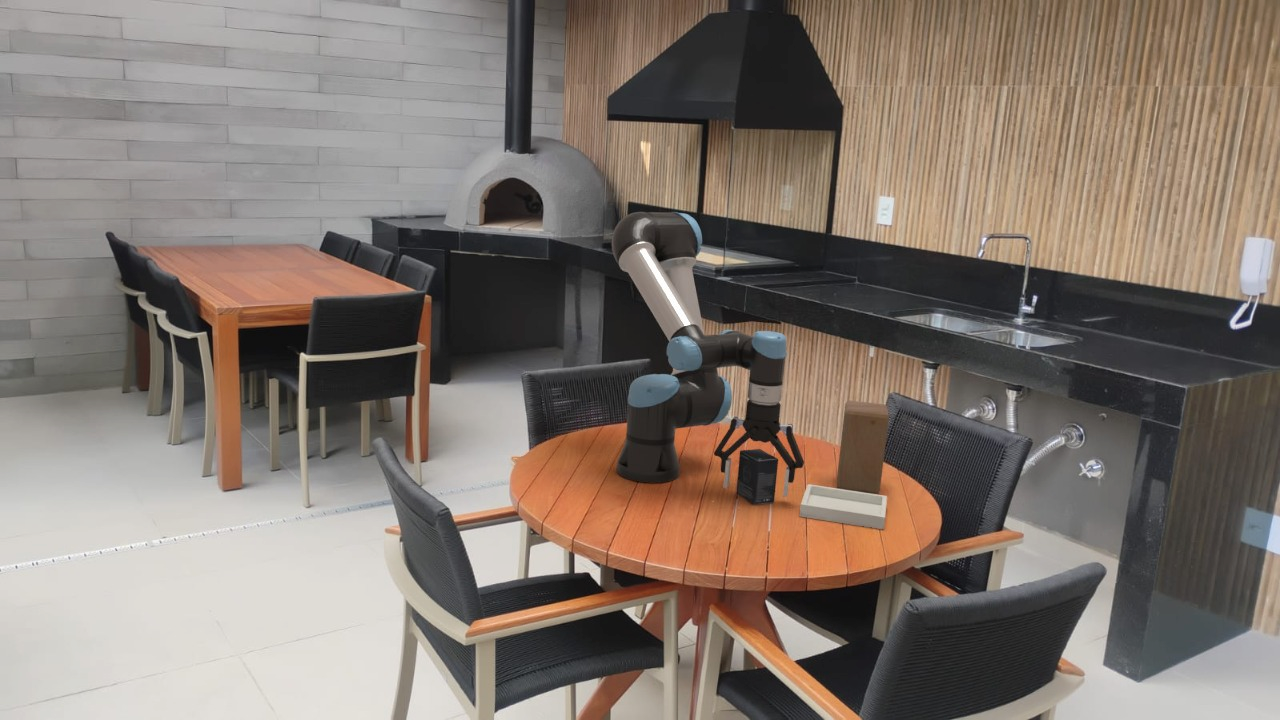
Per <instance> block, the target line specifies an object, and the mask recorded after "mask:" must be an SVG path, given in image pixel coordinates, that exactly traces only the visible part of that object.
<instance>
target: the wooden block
mask: <svg viewBox="0 0 1280 720" xmlns="http://www.w3.org/2000/svg"><path fill="white" fill-rule="evenodd" d="M889 420H890V416H889V410H888V406H887V404H884V403H877V402H876V403H875V402H867V401H865V402H864V401H859V400H858V401H857V400H847V401H846V402H845V404H844V414H843V422H842V430H841V437H840V438H841V439H840V446H839V457H838V465H837V474H836V487H837V489H844V490H850V491H857V492H864V493H871V494H877V495H879V493H880V492H881V486H882V485H881V484H882V483H881V482H882V476H883V467H884V461H885V451H886V444H887V435H888V428H889Z"/></svg>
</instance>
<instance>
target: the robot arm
mask: <svg viewBox="0 0 1280 720" xmlns="http://www.w3.org/2000/svg"><path fill="white" fill-rule="evenodd" d="M702 235H703V234H702V231H701V228H700V226H699V224H698V222H697V220H696V219H695V218H694V217H692V216H691V215H690V214H687V213H684V212H683V213H682V212H677V211H671V212H659V211H658V212H656V211H653V212H651V211H650V212H649V211H648V212H647V211H637V212H632V213H630V214H629V213H628V214H627V215H625V216H624V217H623V218H622V219H621V220H620V221H619V222H618V223H617V225H616V226H615V228H614V230H613V233H612V236H611V250H612V254H613V257H614V259H615V261H616V263H617V265H618V266H619V268H620V270H622V271H623V272H626V273H628V275H629V276H630V278H631V280H632V281H633V283H634V285H635V287H636V288H637V290H638V292H639V293H640V295H641V297H642V298H643V300H644V302H645V303H646V305H647V307H648V308H649V310H650V312H651V313H652V314H653V317H654V318H655V321H656V322H657V324H658V325H659V327H660V328H661V330H662V332H663V334H664V335H665V336H666V338H667V340H668V341H669V342H668V343H667V346H666V356H667V357H668V359H667V360H668V363H669V365H670V366H671V367H672V368H673V369H674V370H673V371H672V373H670V374H667V373H660V374H657V373H652V374H646V375H645V374H644V375H641V376H639V377H637V378H635V379H634V380H632V382H631V384H630V385H629V390H628V396H627V403H628V404H627V417H626V435H625V441H624V444H623V446H622V449H621V451H620V454H619V457H618V459H617V463H616V473H617V474H618V475H619V476H620V477H622V478H624V479H627V480H630V481H631V480H632V481H633V482H634V481H635V482H640V483H648V484H649V483H651V484H652V483H655V484H657V483H659V484H660V483H667V482H670V481H674V480H676V479H678V478H679V476H680V470H681V469H680V468H681V466H680V465H681V464H680V461H679V457H678V453H677V448H676V445H675V439H676V429H677V430H678V429H684V428H691V427H698V426H703V427H704V426H706V427H707V426H710V425H713V424H717V423H721V422H722V421H723V420H724V419H726V417H727V416H728V413H729V411H730V410H731V406H732V401H733V394H732V393H733V391H732V388H731V385H730V382H729V381H727V379H726V378H725V377H724V376H721V375H719V373H718V372H719V371H718V368H729V367H740V368H742V369H745V370H748V371H749V376H748V387H747V398H748V400H747V401H746V410H745V418H744V419H741V418H739V417H738V416H734V417H733V418H731V421H730V425H729V428H728V430H727V432H726V433H725V435H724V436H723V438H722V439H721V441H720V442H719V443H718V445H717V447H716V448H715V450H714V451H713V455H714V456H715V457H718V458H719V459H721V461H720V462H721V463H720V472H721V473H722V474H724V480H723V488H724V489H728V487H729V485H730V479H731V477H730V476H731V466H732V457H730V456H731V455H732V454H733V453H734V452H735V451H737V450H738V449H739V448H740V447H741V446H743V444H744V443H746V442H747V441H748V440H749V439H750V440H752V441H753V442H762V443H765V444H767V443H769V442H770V444H771V445H772V446H773V447H774V449H775V450H776V451H777V452H778V454H779V455H780V457H781V458H782V460H783V461H784V463H785V464H786V468H785V473H784V482H783V492H782V493H783V494H782V497H783V498H787V497H788V493H789V486H790V485H789V484H791V483H793V482H794V480H795V476H796V475H795V474H796V469H802V468H804V464H805V461H804V458H803V456H802V454H801V453H802V452H801V450H800V448H799V446H798V443H797V441H796V437H795V436H794V425H793V424H792V423H788V424H787V425H785V424H783V425H782V424H781V423H780V416H781V403H780V402H782V396H783V385H784V373H785V365H786V364H785V363H786V357H787V337H786V336H785V334H784V333H781V332H778V331H777V332H776V331H771V330H758V331H756V332H754V334H753V335H750V334H747V333H744V332H742V331H740V330H733V329H725V330H723V331H721V332H719V333H718V334H705V331H704V326H703V321H702V316H701V310H700V304H699V300H698V293H697V290H696V288H697V287H696V285H695V279H694V273H693V267H694V266H695V265H696V263H697V257H698V255H699V254H700V253H701V250H702V246H701V245H702V244H703V236H702ZM741 426H742V427H743V430H745V432H744V433H743V434H742V435H741V436H740V437H739V438H738V439H737V440H736V441H735V442H734V443H732V444H731V446H730V447H729V448H727V449H726V450H725V451H724V450H723V449H724V447H725V446H726V445H727V443H728V442H729V439H731V437H732V435H733V434H734V432H735V431H736V430H737V429H739V428H740V427H741ZM780 431H781V432H782V433H783V435H784V436H786V440H787V443H788V446H789V448H790V450H791V453H792V455H793V457H792V456H791V454H790V453H789V451H788V450H787V449H786V447H785V446H784V444H783V443H782V441H781V440H780V438H779V436H778V435H777V434H779V433H780Z"/></svg>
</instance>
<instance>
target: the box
mask: <svg viewBox="0 0 1280 720" xmlns="http://www.w3.org/2000/svg"><path fill="white" fill-rule="evenodd" d="M778 466H779V458H777V457H775V456H774V455H772V454H770V453H768V452H766V451H765V450H763V449H760V448H756V449H754V448H753V449H743V450H740V451H739V460H738V469H737V483H736V495H738V496H740V497H741V498H743V499H744V500H746V501H748V502H749V503H750V504H752V505H754V506H756V505H767V504H772V503H774V502H775V496H776V486H777V476H778V475H777V474H778Z"/></svg>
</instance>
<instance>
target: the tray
mask: <svg viewBox="0 0 1280 720" xmlns="http://www.w3.org/2000/svg"><path fill="white" fill-rule="evenodd" d="M887 502H888V496H887V495H882V494H870V493H864V492H857V491H850V490H844V489H838V487H837V488H835V487H829V486H823V485H818V484H817V485H816V484H808V483H807V485H806V488H805V491H804V494H803V497H802V500H801V503H800V506H799V507H800V509H799V517H802V518H808V519H814V520H815V519H816V520H819V521H826V522H827V521H828V522H833V523H841V524H846V525H853V526H858V527H859V526H860V527H863V526H864V528H870V527H872V528H871V529H876V528H877V529H878V530H882V529H883V530H884V529H885V521H886V512H887V511H886V510H887ZM883 530H882V531H883Z"/></svg>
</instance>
